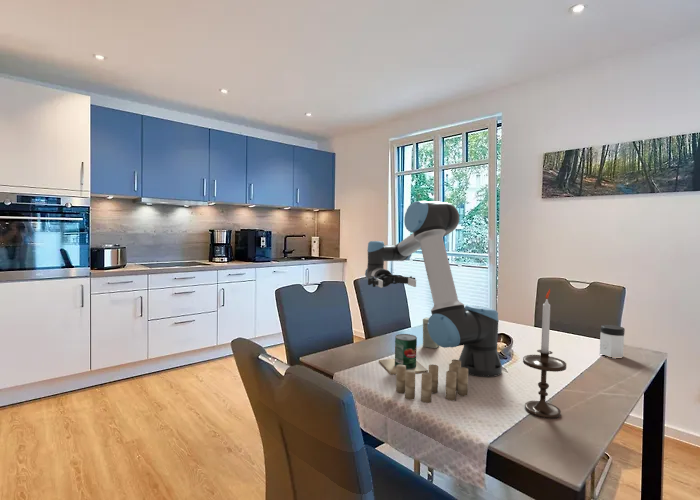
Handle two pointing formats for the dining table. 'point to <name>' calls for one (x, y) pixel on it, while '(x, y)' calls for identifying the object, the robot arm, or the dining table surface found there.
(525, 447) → the dining table surface
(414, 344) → the canned tomato
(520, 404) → the dining table surface
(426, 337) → the skincare box
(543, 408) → the candlestick
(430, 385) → the dowel field
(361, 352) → the dining table surface
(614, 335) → the jar
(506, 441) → the dining table surface
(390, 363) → the cork trivet
